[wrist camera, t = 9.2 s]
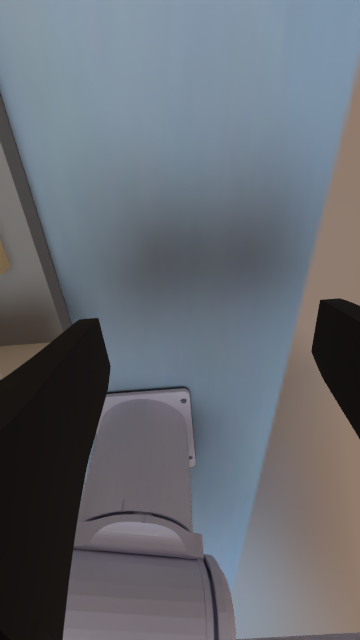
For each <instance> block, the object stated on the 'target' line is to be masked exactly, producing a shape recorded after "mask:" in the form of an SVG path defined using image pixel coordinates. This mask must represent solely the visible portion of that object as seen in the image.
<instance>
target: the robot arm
mask: <svg viewBox="0 0 360 640" xmlns="http://www.w3.org/2000/svg"><path fill="white" fill-rule="evenodd" d="M312 354H313V356H314V359H315V361H316V364H317V366H318V369H319V371H320V373H321V375H322V377H323V379H324V381H325V383H326V384H327V386H328V388H329V389H330V391H331V393H332V394H333V396H334V397H335V399H336V400H337V402H338V404H339V406H340V407H341V409H342V411H343V412H344V414H345V415H346V417H347V419H348V420H349V422H350V424H351V425H352V427H353V429H354V430H355V432H356V433H357V435H358V437H359V439H360V306H359V305H356V304H354V303H351V302H349V301H346V300H343V299H327V300H320V304H319V310H318V316H317V322H316V327H315V333H314V340H313V345H312ZM109 375H110V363H109V359H108V355H107V351H106V347H105V343H104V339H103V335H102V331H101V327H100V323H99V319H98V318H93V319H81V320H78V321H77V322H76V323H74V324H73V325H72V326H70V327H69V328H68V329H66V330H65V331H64V332H63V333H62V334H60V335H59V336H58V337H57V338H55V339H54V340H53V341H52V342H51V343H49V344H48V345H47V346H46V347H44V348H43V349H42V350H41V351H39V352H38V353H37V354H36V355H34V356H33V357H32V358H30V359H29V360H28V361H26V362H25V363H24V364H22V365H21V366H20V367H18V368H17V369H15V370H14V371H13V372H11V373H10V374H9V375H7V376H6V377H4V378H3V379H1V380H0V640H360V633H344V634H325V635H308V636H290V637H272V638H255V639H254V638H253V639H236V630H235V618H234V610H233V604H232V598H231V593H230V589H229V586H228V583H227V580H226V577H225V575H224V573H223V572H222V570H221V569H220V567H219V565H218V563H217V561H216V560H215V558H214V557H213V556H211V555H206V554H203V542H202V535H201V534H198V533H193V526H192V506H191V487H190V467H194V466H195V465H196V460H195V449H194V438H193V427H192V416H191V405H190V394H189V391H188V390H187V389H184V388H181V389H168V390H155V391H142V392H128V393H115V394H107V390H108V383H109ZM182 399H185V400H182ZM95 434H97V439H96V443H95V447H94V451H93V455H92V459H91V463H90V467H89V471H88V475H87V479H86V483H85V487H84V491H83V495H82V490H83V484H84V479H85V473H86V468H87V464H88V459H89V455H90V452H91V448H92V445H93V441H94V438H95ZM81 496H82V500H81ZM80 501H81V504H80Z"/></svg>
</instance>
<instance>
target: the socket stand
mask: <svg viewBox="0 0 360 640" xmlns="http://www.w3.org/2000/svg"><path fill="white" fill-rule="evenodd" d="M70 326H72V324H71V321H70V318H69V315H68V311H67V308H66V305H65V302H64V299H63V295H62V292H61V289H60V286H59V282H58V279H57V276H56V273H55V269H54V266H53V263H52V260H51V257H50V253H49V250H48V247H47V244H46V240H45V237H44V234H43V231H42V228H41V224H40V221H39V218H38V215H37V211H36V208H35V205H34V202H33V198H32V195H31V192H30V189H29V186H28V182H27V179H26V176H25V173H24V169H23V166H22V163H21V160H20V157H19V153H18V150H17V147H16V144H15V140H14V137H13V134H12V131H11V127H10V124H9V121H8V118H7V115H6V111H5V108H4V105H3V102H2V98H1V95H0V380H1V379H3V378H4V377H6V376H7V375H9V374H10V373H11V372H13V371H14V370H15V369H17V368H18V367H20V366H21V365H22V364H24V363H25V362H26V361H28V360H29V359H30V358H32V357H33V356H34V355H36V354H37V353H38V352H39V351H41V350H42V349H43V348H44V347H46V346H47V345H48V344H49V343H51V342H52V341H53V340H54V339H55V338H57V337H58V336H59V335H60V334H62V333H63V332H64V331H65V330H66V329H68V328H69V327H70Z"/></svg>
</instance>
